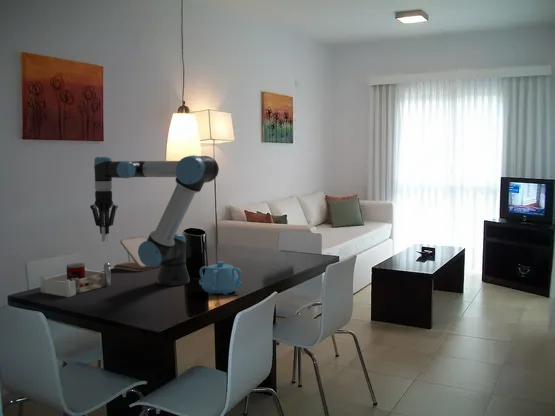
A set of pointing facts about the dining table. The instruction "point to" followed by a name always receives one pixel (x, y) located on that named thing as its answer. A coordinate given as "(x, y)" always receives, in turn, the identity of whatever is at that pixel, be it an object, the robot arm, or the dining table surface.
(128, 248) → the case
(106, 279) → the hinge post
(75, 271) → the canned food
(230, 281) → the decorative pot
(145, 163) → the robot arm
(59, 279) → the pen fence
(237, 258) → the dining table surface
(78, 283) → the gate
